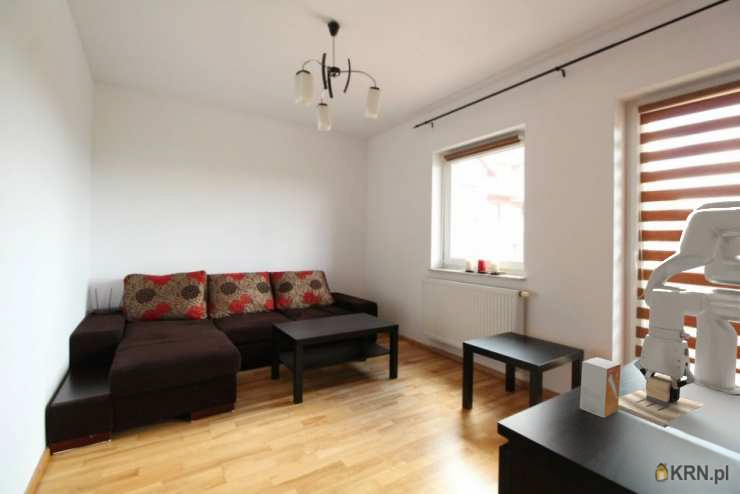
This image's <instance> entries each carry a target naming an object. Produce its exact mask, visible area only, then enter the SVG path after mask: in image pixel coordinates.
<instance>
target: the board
mask: <svg viewBox="0 0 740 494" xmlns="http://www.w3.org/2000/svg"><path fill="white" fill-rule="evenodd" d="M646 394H647V390H646V387H645V388H641V389H639V390H636V391H633V392H631V393H628V394H625V395H621V396H619V401H618V411H619V410H620V411H622V412H624V413H627V414H630V415H631V416H634V417H637V418H639V419H642V420H644V421H647V422H649V423H652V424H655V425H657V426H660V427H662V428H667V427H669V425H668V424H666V423H668V422H671V421H672V420H675V419H677V418H679V417H681V416H683V415H685V414H688V413H690V412H692V411H694V410H696V409H698V408H701V407H703V406H705V403H701V402H698V401H695V400H692V399H689V398H687V397H683V396H680V398H679V400H677V402H674V403H672V404H669V405H667V406H664V405H661V404H658V403H655V402H653V401H650V400H647V399H646Z"/></svg>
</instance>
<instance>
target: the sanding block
mask: <svg viewBox="0 0 740 494" xmlns="http://www.w3.org/2000/svg"><path fill="white" fill-rule="evenodd" d="M646 381H647V394H646V399H647V400H650V401H653V402H655V403H658V404H661V405H664V406H667V405H669V404H672V402H670V401H669V399H670V388H672V382H671V378H670V376H667V375H663V374H660V373H658V374H655V376H653V377H650V378H647V380H646ZM676 402H677V401H676Z"/></svg>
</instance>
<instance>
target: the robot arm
mask: <svg viewBox="0 0 740 494" xmlns="http://www.w3.org/2000/svg"><path fill="white" fill-rule="evenodd" d="M701 267H704V268H703V270H704V271H703V273H704V274H703V275H704V279H705V280H706V281H708V283H712V284H715V285H716V284H717V285H720V286H721V285H723V286H730V287H731V286H732V287H740V197H739V198H723V199H721V198H720V199H710V200H704V201H701V202H699V203H697V204H696V205H695V207H694V209H693V212H691V213H690V214H689V215H688V216H687V218H686V222H685V225H684V227H683V231H682V235H681V236H680V241H679V243H678V246H677V250H676V252H675V253H674V254H673V255H671V256H669V257H668V258H666V259H665V260H663V261H661V263H660V264H658V265H657V266H656V267H655V268H654V269H653V270H652V271H651V273H650V275H649V278H648V281H647V284H646V286H645V290H644V295H643V297H644V299H643V300H644V302H645V304H646V306H647V307H649V314H648V315H649V316H648V332H647V334H646V335H645V337H644V339H643V342H642V346H641V351H640V352H641V353H640V358H639V359H637V360H636V361H635V362H634V363H633V365H634V367H635V368H637V370H639V372H640V373H641V375H643V377H644V379H645V381H646V382H645V383H646V385H645V388H646V390H647V378H650V377H653V376H656V375H657V374H660V375H663V376H667V377H670V378H671V382H672V388H670V399H669V401H670V402H672V403H674V402H676V401H677V400H679V398H680V397H681V396H680V395H681V389H682V387H685V386H688V385H692V384H693V385H697V386H701V387H703V388H708V389H709V390H714V391H717V392H721V393H725V394H728V395H740V386H739V385H737V384H736V375H737V373H736V372H737V371H736V370H737V358H738V357H737V356H738V355H737V354H738V340H739V339H738V338H739V336H738V333H737V331H736V329H735V327H734V326H733V325H732V324H731V322H738V323H740V290H735V289H726V288H715V287H714V288H713V287H708V288H706V287H705V288H702V289H694V288H688V287H687V288H686V287H679V286H671V285H666V283H667V282H668V280H669V279H670V278H672V277H673V276H676V275H677V274H679V273H683V272H686V271H688V270H693V269H697V268H701ZM685 316H693V317H694V316H695V317H696V331H695V332H696V333H695V334H696V335H695V337H696V338H695V351H694V352H695V353H694V355H695V356H694V368H693V369H694V371H693V372H692V371H691V363H690V361H691V360H690V351H689V344H688V341H687V340H685V339H690V337H691V334H690V333H687V332H685V329H684V327H685V325H684V324H685ZM656 373H657V374H656ZM683 377H686V378H685V379H683V380H682V378H683Z"/></svg>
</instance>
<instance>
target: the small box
mask: <svg viewBox="0 0 740 494" xmlns="http://www.w3.org/2000/svg"><path fill="white" fill-rule="evenodd" d="M621 366H622V365H621V363H619V362H616V361H612V360H608V359H605V358H602V357H597V356H596V357H592V358H589V359H586V360H583V361H581V376H580V377H581V380H580V398H579V409H580V410H582V411H586V412H587V413H590V414H592V415H595V416H598V417H601V418H603V419H605V418H607V417H609V416H611V415H613V414H615V413H616V412H618V411H619V409H618V406H619V405H618V401H619V397H620V385H621V384H620V379H621V368H622V367H621Z"/></svg>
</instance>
